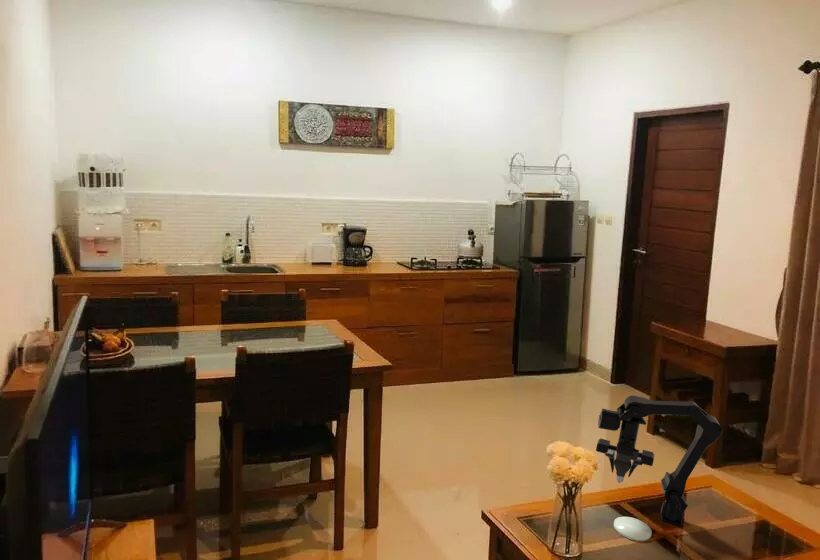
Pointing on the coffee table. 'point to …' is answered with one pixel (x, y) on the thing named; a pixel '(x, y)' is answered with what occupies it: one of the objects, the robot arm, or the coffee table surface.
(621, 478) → the light bulb
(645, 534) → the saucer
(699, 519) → the coffee table surface
